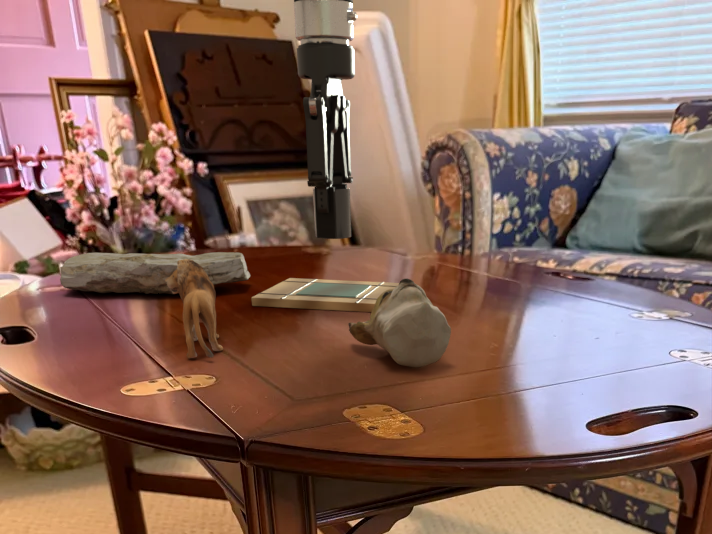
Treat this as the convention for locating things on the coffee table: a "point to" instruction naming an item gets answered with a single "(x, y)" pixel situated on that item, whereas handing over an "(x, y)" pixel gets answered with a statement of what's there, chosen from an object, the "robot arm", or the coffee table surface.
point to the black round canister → (340, 212)
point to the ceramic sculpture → (405, 326)
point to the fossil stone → (144, 271)
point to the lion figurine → (195, 304)
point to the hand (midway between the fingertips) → (333, 234)
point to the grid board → (323, 294)
